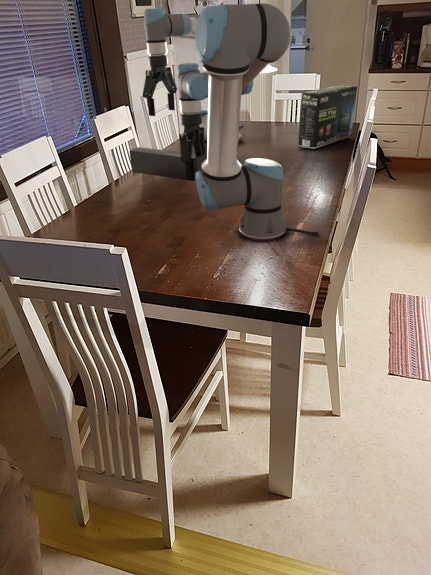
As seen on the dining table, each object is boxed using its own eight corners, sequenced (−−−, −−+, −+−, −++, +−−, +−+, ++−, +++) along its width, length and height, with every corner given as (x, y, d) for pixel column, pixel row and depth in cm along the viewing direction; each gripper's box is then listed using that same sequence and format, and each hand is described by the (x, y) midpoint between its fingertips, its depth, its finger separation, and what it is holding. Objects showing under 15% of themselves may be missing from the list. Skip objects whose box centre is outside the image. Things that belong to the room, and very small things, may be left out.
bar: (206, 177, 173) (205, 154, 168) (198, 182, 169) (197, 158, 164) (141, 168, 187) (138, 146, 182) (132, 172, 183) (129, 150, 178)
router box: (314, 151, 231) (318, 94, 217) (296, 148, 237) (299, 92, 224) (352, 138, 251) (358, 85, 238) (335, 135, 258) (340, 83, 245)
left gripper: (168, 52, 188) (172, 107, 199) (129, 57, 170) (135, 117, 181) (183, 52, 185) (186, 108, 196) (145, 57, 166) (151, 119, 177)
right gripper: (196, 107, 169) (199, 169, 181) (166, 116, 155) (172, 183, 167) (213, 108, 165) (216, 171, 177) (185, 118, 152) (189, 186, 163)
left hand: (162, 112), depth 188 cm, fingers open, 13 cm apart
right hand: (194, 177), depth 172 cm, fingers closed on bar, 6 cm apart
